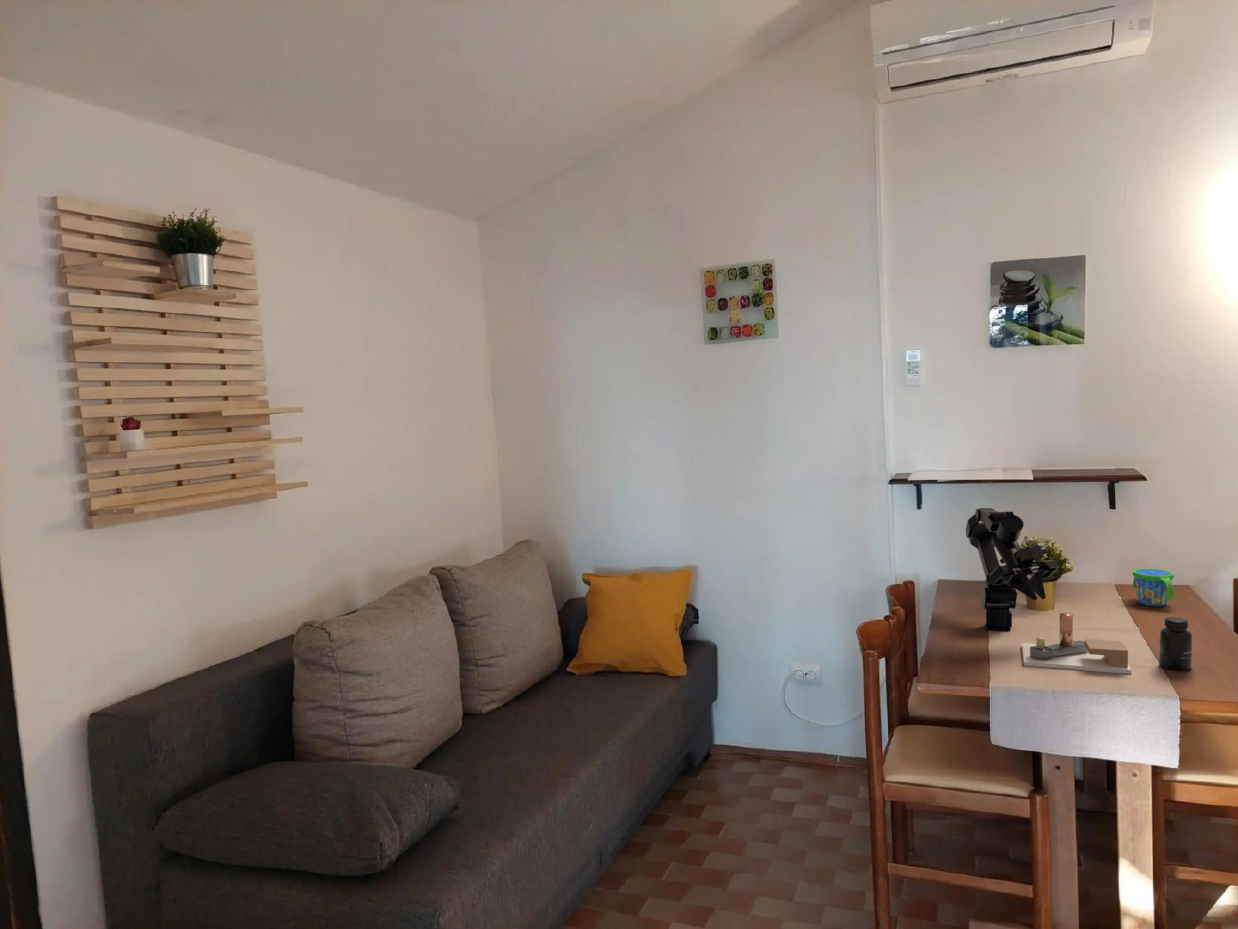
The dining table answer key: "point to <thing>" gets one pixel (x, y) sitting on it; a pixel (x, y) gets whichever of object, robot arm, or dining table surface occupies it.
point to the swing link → (1061, 642)
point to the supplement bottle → (1175, 645)
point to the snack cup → (1153, 586)
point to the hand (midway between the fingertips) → (1040, 599)
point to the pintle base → (1084, 657)
